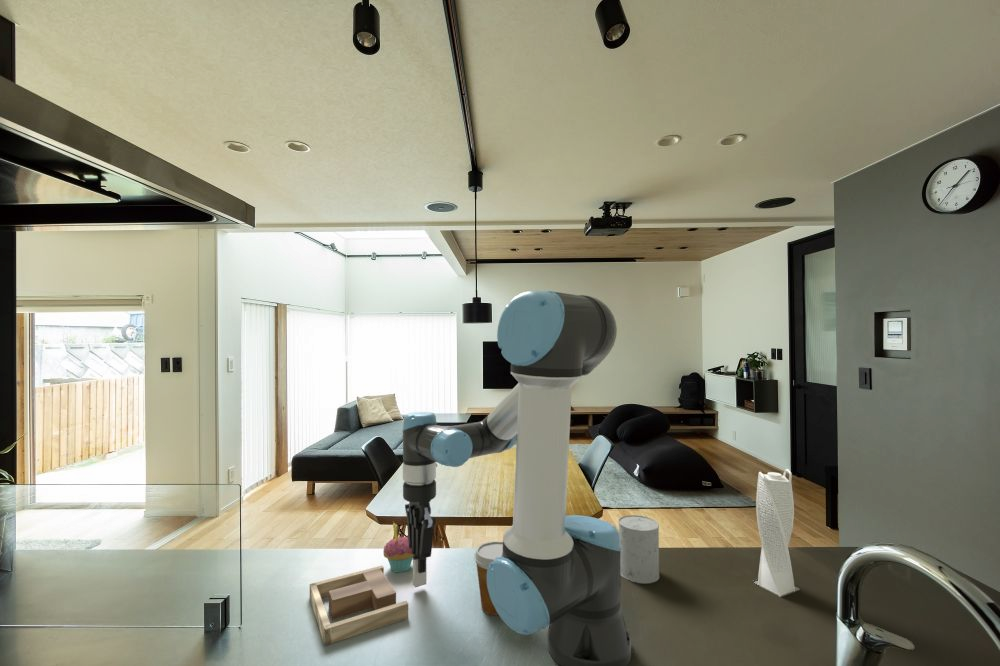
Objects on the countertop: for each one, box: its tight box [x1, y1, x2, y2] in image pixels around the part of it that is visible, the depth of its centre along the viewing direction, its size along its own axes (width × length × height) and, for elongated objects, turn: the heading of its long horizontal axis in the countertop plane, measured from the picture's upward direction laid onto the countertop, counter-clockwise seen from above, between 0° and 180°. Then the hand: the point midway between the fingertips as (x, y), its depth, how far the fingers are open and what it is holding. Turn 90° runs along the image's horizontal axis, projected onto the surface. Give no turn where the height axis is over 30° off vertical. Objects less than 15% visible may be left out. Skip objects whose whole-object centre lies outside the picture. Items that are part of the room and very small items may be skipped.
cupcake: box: [383, 520, 414, 573], centre depth 113 cm, size 9×8×12 cm
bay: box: [309, 565, 409, 647], centre depth 96 cm, size 18×16×3 cm
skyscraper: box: [753, 468, 801, 598], centre depth 104 cm, size 8×8×28 cm
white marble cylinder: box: [618, 514, 660, 585], centre depth 110 cm, size 10×10×12 cm
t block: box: [328, 568, 397, 621], centre depth 96 cm, size 12×12×4 cm
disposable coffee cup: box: [473, 540, 503, 616], centre depth 96 cm, size 10×10×12 cm
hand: (419, 584), depth 103 cm, fingers closed
